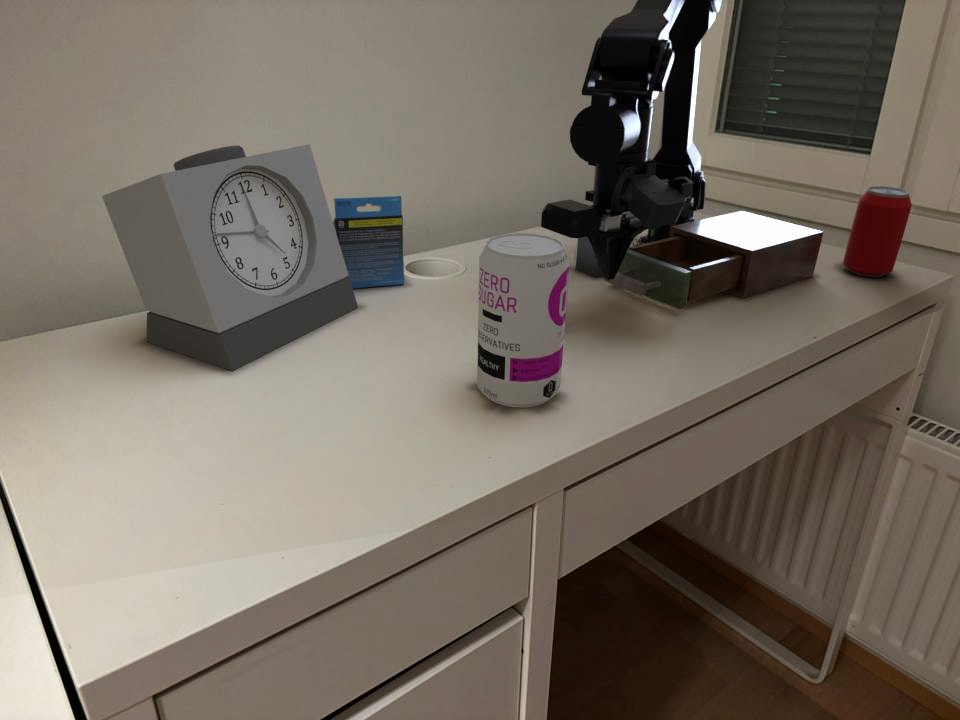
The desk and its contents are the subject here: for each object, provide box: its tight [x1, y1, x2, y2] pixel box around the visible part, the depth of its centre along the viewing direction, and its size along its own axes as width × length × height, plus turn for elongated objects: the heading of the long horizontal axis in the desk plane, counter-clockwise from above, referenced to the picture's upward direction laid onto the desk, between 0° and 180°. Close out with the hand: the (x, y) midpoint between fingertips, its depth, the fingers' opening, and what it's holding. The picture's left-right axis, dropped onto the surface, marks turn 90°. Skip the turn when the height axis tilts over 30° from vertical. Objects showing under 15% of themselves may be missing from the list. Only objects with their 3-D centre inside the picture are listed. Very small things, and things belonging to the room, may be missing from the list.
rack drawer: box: [603, 235, 746, 311], centre depth 94 cm, size 20×12×5 cm, turn 126°
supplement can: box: [476, 232, 571, 409], centre depth 67 cm, size 8×8×15 cm
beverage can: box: [842, 185, 913, 278], centre depth 102 cm, size 7×7×12 cm
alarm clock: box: [101, 143, 359, 372], centre depth 80 cm, size 20×16×20 cm
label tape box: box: [332, 195, 405, 290], centre depth 94 cm, size 9×4×12 cm, turn 106°
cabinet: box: [669, 210, 824, 299], centre depth 102 cm, size 17×14×7 cm
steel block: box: [575, 210, 610, 279], centre depth 101 cm, size 4×4×8 cm
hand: (608, 278), depth 87 cm, fingers closed
